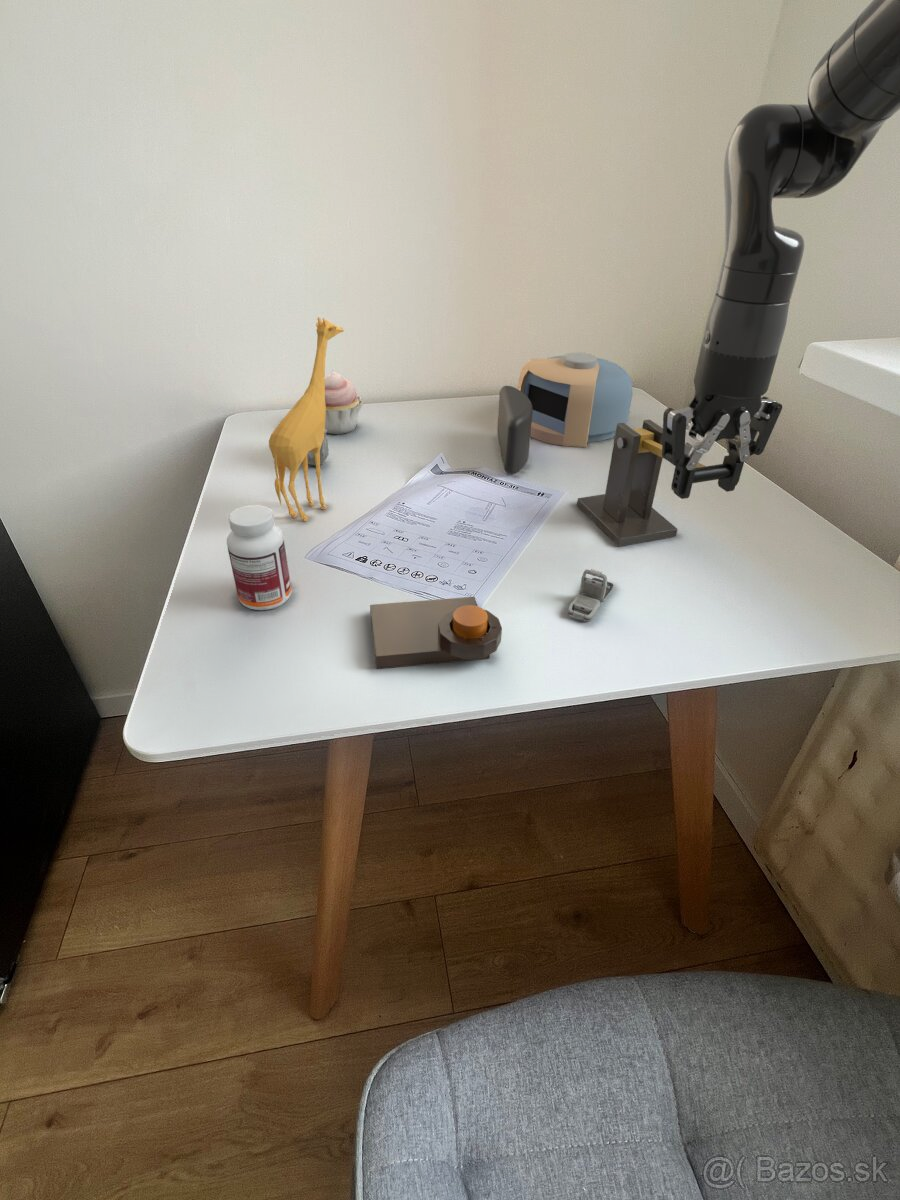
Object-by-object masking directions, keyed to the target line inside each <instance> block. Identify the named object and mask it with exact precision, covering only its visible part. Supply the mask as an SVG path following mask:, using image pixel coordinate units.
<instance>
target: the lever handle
mask: <svg viewBox="0 0 900 1200" xmlns="http://www.w3.org/2000/svg"><path fill="white" fill-rule="evenodd" d="M632 429H633V430H634V431H636V432H637V433H639V434H640V435H641V439H640V444H639V450H638V453H644V452H652V453H654V454H656V455H658V456H660V457H662V445H661V444H658V443H656V442H654V441H653V439H654V433H652V432H650V431H648V430H646V429H643V428H642V427H639V428H632ZM662 458H663V457H662ZM663 459H664V458H663ZM694 469H695V470H696V471H695V475H694V479H693V484H698V483H705V482H710V481H716V480H717V481H718V479H724V478H729V477H730V476H731V474H732V467H731V465H730V464H728V463H725V464H723V463H720V464H719V463H718V464H714V465H713V464H711V465H705V464H703V463H700V462H698V463H697V465H696V467H695V468H694Z"/></svg>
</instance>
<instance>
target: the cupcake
mask: <svg viewBox="0 0 900 1200" xmlns="http://www.w3.org/2000/svg"><path fill="white" fill-rule="evenodd" d="M364 402H365V401H364V400H362V397H361V396H358V393H357V391H356V387H355V384H354V383H352V381H350V380H349V379H348V378H345V377H343V376H342V375H341V374H339V373H338V372H336V371H334V370H331V372H330V373H329V374H328V375H327V376H325V405H326V416H325V428H326V429H327V432H326V434H331V435H341V434H347V433H351V432H352V431H354V430H355V429H356V427H357V425H358V424H357V422H358V418H359V414H360V410H361V408H362V407H363V405H364Z"/></svg>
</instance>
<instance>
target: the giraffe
mask: <svg viewBox="0 0 900 1200" xmlns="http://www.w3.org/2000/svg"><path fill="white" fill-rule="evenodd" d="M315 326H316V335H317V339H316V340H317V341H316V342H317V343H316V350H315V351H316V352H315V357H314V363H313V368H312V373H311V377H310V380H309V384H308V386H307V388H306V389H305V391H304V393H303V395H302V396H301V397H300V398H299V400H297V401H296V403H295V404H294V405H293V407H291V408H290V409H289V411H288V412H287V414H286V415H285V416H284V417H283V418H282V419H281V420H280V422H279V423H278V424H277V426H276V427H275V429H274V430H273V431H272V432H271V434H270V436H269V440H268V448H269V451H270V453H271V456H272V458H273V462H274V463H273V464H274V471H275V477H276V478H275V479H274V489H275V493H276V496H277V498H278V501H279V504H280V506H282V498H281V495H282V497H283V498H284V501H285V504H286V506H287V509H288V510H287V511H288V515H289V516H291V517H292V519H295V518H297V517H298V515H299V519H302V522H307V521H308V520H309V518H308V515H306V512H305V511H303V509H302V507H301V505H300V503H299V500H298V496H297V493H296V489H295V480H296V477H297V475H298V472H299V469H300V467H301V465H302V471H303V477H304V483H305V490H306V491H305V493H306V500H307V503H308V506H310V507H312V506H314V505H315V502H314V501H313V498H312V496H311V491H310V485H309V477H308V470H309V464H308V463H307V454H308V452H309V451H310V450H311V451H312V452H313V453H314V456H315V463H316V466H315V475H316V479H317V486H318V488H317V489H318V497H319V498H318V499H319V501H318V502H319V504H320V509H321V510H327V506H326V504H325V499H324V495H323V488H322V480H321V476H322V475H321V473H322V469H321V465H320V449H321V445H322V442H323V439H324V432H325V416H326V405H325V377H326V355H327V349H328V341H329V340H331V339H332V338H335V337H336V336H337V335H339V334H340V333H343V332H344V331H345V329H344V328H343V327H341V326H338V325H336V324H334V323H332V322H331V321H328V320H327V319H325V318H324V317H322V319H321V318H320V317H319V316H318V317H317V322H315ZM287 469H288V471H290V473H289V481H288V484H287V485H288V486H287V488H288V492H289V493H290V495H291V498H292V499H293V500H294V503H295V505H296V506H295V507H296V508H297V511H298V513H297V511H295V509H294V508H293V507H292V506H291V503H290V500H289V499H288V496H287V491H286V487H285V476H286V470H287Z"/></svg>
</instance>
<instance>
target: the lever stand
mask: <svg viewBox="0 0 900 1200" xmlns="http://www.w3.org/2000/svg"><path fill="white" fill-rule="evenodd" d="M641 428H643V429H646V430H648V431H650V432H652V433H654V439H653V441H654V442H656V443H658V444H661V445H662V440H663V426H661V425H659V424H657V423H656V422H654V421H653V420H652V419H644V420H643V421H642V427H641ZM633 429H634V428H632V427H630V426H629V425H627V423H626V424H625V423H617V427H616V433H615V436H614V440H613V445H612V452H611V458H610V464H609V469H608V474H607V475H608V476H607V481H606V487H605V493H603V494H596V495H589V496H584V497H577V501H576V506H577V507H578V508H579V509H580V510H581V511H582V512H583V513H584V514H585V515H586V516H587V517H588V518H589V519H590V520H591V521H592V522H593V523H594V525H595V526H597V527H598V528H599V529H600V530H601V532H602V533H604V534H605V535H606V536H607V537H608V539H610V540H611V541H612V542H613V543H614V544H615V545H616V546H617V547H624V546H629V545H635V544H641V543H647V542H652V541H658V540H664V539H668V538H674V537H677V534H678V530H679V529H678V528H677V527H676V526H675V525H674V524H673V523H671V521H669V520H668V519H667V518H665V517H664V516H663V515H662V514H660V513H659V512H658V511H657V510H656V509H655V508H654V507H653V505H654V500H655V495H656V491H657V486H658V481H659V476H660V472H661V468H662V464H663V463H662V462H663V460H664V458H662V457H660V456H658V455H656V454H654V453H652V452H644V453H638V450H639V444H640V439H641V435H640V434H639V433H637V432H636V431H634V430H633Z"/></svg>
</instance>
